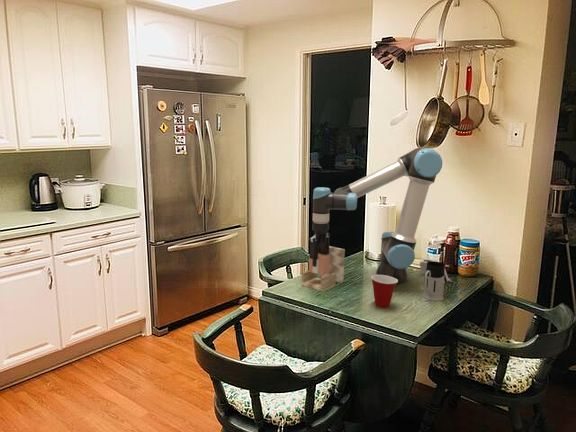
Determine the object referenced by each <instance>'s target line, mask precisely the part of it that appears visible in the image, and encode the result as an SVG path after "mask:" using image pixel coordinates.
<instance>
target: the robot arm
mask: <svg viewBox="0 0 576 432" xmlns="http://www.w3.org/2000/svg"><path fill="white" fill-rule="evenodd" d="M442 168H443V158H442V156H441V155H440V153H439V152H438V151H436V150H435V149H433V148H427V147H421V146H420V147H417V148H414V149H413V150H411V151H409V152H407V153H405V154H403V155H401V156H400V157H398V158H397V160H396V161H394V162H393V163H390V164H388V165H386V166H384V167H382V168H381V169H378V170H376V171H374V172H372V173H370V174H368V175H366V176H363V177H361V178H359V179H358V180H356V181H354V182H352V183H349V184H348V185H345V186H343V187H339V188H337V189H336V190H334V192H331V188H329V187H323V186H322V187H319V186H318V187H315V188H314V189H313V194H312V225H311V226H312V227H311V230H312V231H313V236H312V237H309V255H310V256H309V255H308V259H309V258H310V259H312V260H313V262H312V266H313V270H312V272H313V273H317V275H319V274H318V265H319V260H318V253H320V254H324V255H327V254H329V246H330V241H331V233H329V230H330V229H329V228H330V223H329V222H330V210H337V211H338V210H340V211H341V210H342V211H344V210H345V211H355V210H357V207H358V205H357V204H358V198H360V197H363V196H364V195H366V194H367V195H368V194H370V193H371V192H373V191H375V190H377V189H379V188H381V187H383V186H386V185H388V184H390V183H392V182H394V181H396V180H398V179H400V178H402V177H407V178H408V179H409V183H408V186H407V190H406V193H405V196H404V200H403V204H402V207H401V210H400V215H399V218H398V221H397V224H396V227H395V228H396V229H395V231H383V232H382V234H381V246H380V262H379V264H378V267H377V269H376V272H375V275H386V276H390V277H393V278H395V279H397V280H398V282H397V283H396V284H402V283H406V282H407V281H408V279H409V276H408V275H409V274H408V272H407V268H409V267H410V266H411V265H412V264H414V261H415V258H416V257H415V256H416V255H415V254H416V253H415V247H416V245H417V241H418V240H416V237H415V236H416V233H417V229H418V225H419V223H420V219H421V216H422V213H423V209H424V206H425V203H426V199H427V194H428V192H429V189H430V186H431V185H432V184H434V183H435V181H436V177H437V175H438V174H439V173H441V170H442Z"/></svg>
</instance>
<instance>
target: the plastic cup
mask: <svg viewBox="0 0 576 432" xmlns="http://www.w3.org/2000/svg"><path fill="white" fill-rule="evenodd" d="M370 279H371V281H372V288H373V289H372V291H373V297H374V304H375V307H377V308H380V309H387V308H389V307H390V306H391V301H392V299H393V295H394V290H395V287H396V284H398V283H397V282H398V280H397V279H395V278H393V277H390V276H386V275H376V274H374V275H373V274H372V275H371V278H370Z"/></svg>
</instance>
